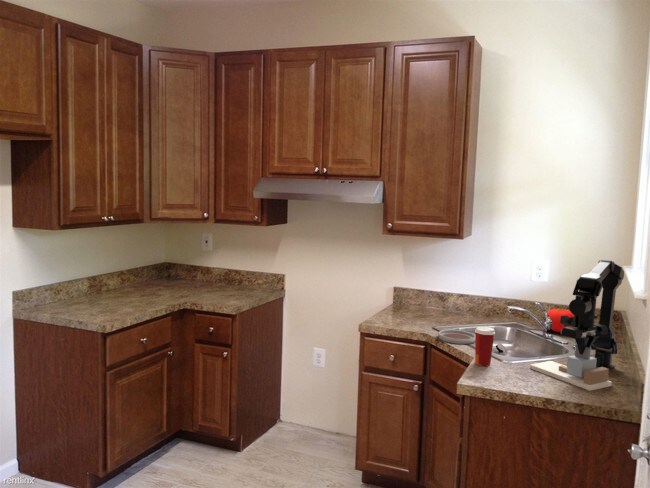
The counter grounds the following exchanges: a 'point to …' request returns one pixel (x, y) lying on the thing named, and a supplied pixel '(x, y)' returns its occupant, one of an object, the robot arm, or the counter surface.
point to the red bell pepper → (558, 318)
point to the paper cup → (483, 345)
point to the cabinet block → (580, 362)
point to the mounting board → (590, 380)
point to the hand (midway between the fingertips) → (582, 353)
